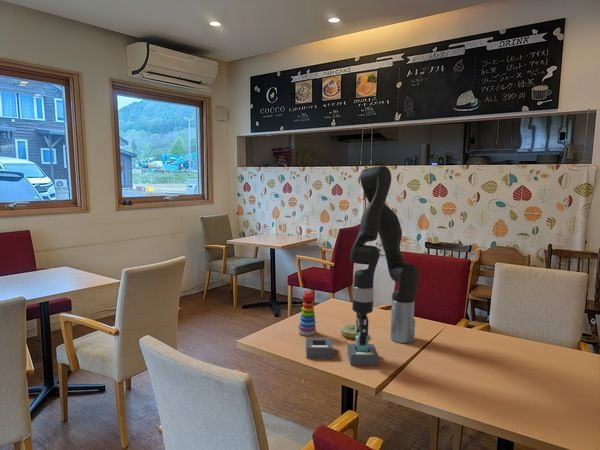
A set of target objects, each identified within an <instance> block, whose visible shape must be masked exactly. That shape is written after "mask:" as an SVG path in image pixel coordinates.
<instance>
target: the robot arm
mask: <svg viewBox="0 0 600 450" xmlns="http://www.w3.org/2000/svg"><path fill="white" fill-rule="evenodd" d="M359 179H360V184H361V187H362V189H363V190H362V191H363V193H364V195H365V197H366V199H367V202H368V203H369V204H368V206H367V207H366V209H365V210H364V211H363V213H362V216H361V220H360V223H359V229H358V234H357V237H356V239H355V241H354V243H353V245H352V247H351V250H350V254H349V256H350V260H351V262H352V263H354V264H359V265H367V266H368V267H367V268H366V269H365V268H364V269H359V270H356V271H355V273H354V278H353V279H354V280H353V289H352V311H353V312H355V314H356V315H355V323H356V324H355V325H357V326H358V327H357V335H358V332H360V345H366V336H368V335H369V317H368V314H371V313H373V311H374V309H373V308H374V279H375V272H376V268H377V265H378V263H379V259H380V256H381V255H380V254H381V253H380V249H379V247H377V246H375V245H367V244H366V243H369V242H374V241H376V240H377V239H378V236H379V239H380V241H381V245H382V247H383V248H382V249H383V251H384V256H385V259H386V265H387V270H388V273H389V276H390V278H391V280H392V281H394V282H395V283H398V284H399V286H398V290H395V291H393V292H392V295H391V313H390V314H391V315H390V316H391V317H390V318H391V319H390V340H391V341H393V342H396V343H398V344H410V343H412V342H415V330H416V329H415V327H416V319H415V318H414V315H415V298H416V296H417V293H418V286H419V285H418V283H419V270H418V267H417V266H416V265H415V264H413V263H409V262H406V261H405V260H404V258H403V255H402V252H401V243H402V238H403V232H402V231H403V230H402V227H401V223H400V220H399V217H398V215H397V214H396V213H395V211H393V209H391V207H390V206H388V205H387V204H386V201H387V197H388V194H389V192H390V187H391V185H392V184H391V183H392V173H391V170H390V169H389V167H388V166H385V165H379V166H373V167H369V168H364V169H363V170H362V171H361V172H360V176H359ZM363 329H364V330H365V332H363Z"/></svg>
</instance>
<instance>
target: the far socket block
mask: <svg viewBox="0 0 600 450" xmlns="http://www.w3.org/2000/svg"><path fill="white" fill-rule="evenodd" d="M305 354H306V356H305V357H306V359H333V358H334V346H333V342H332V338H331V337H305Z"/></svg>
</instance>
